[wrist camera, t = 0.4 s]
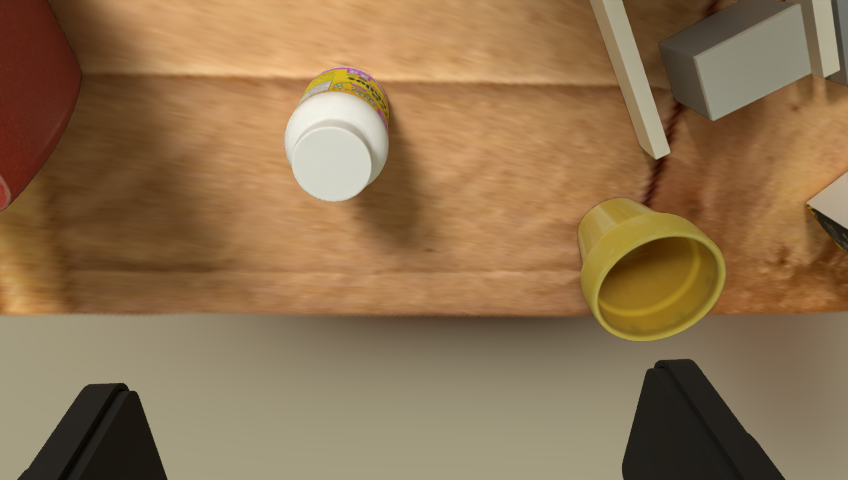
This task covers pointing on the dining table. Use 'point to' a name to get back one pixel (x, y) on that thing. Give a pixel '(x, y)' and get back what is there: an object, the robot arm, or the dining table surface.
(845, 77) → the tray
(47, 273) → the dining table surface
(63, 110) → the plant pot
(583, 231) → the plant pot
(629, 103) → the bay
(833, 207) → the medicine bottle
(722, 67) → the gray block
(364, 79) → the supplement bottle
